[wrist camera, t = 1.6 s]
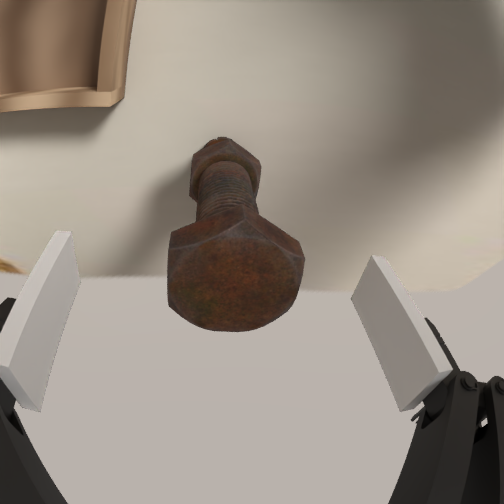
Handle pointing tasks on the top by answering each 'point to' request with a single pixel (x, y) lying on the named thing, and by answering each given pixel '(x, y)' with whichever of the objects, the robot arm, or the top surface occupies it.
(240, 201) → the bolt
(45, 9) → the tray
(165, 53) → the top surface
